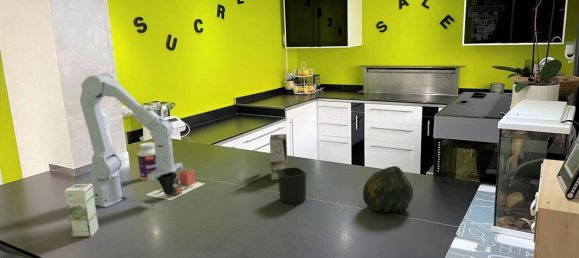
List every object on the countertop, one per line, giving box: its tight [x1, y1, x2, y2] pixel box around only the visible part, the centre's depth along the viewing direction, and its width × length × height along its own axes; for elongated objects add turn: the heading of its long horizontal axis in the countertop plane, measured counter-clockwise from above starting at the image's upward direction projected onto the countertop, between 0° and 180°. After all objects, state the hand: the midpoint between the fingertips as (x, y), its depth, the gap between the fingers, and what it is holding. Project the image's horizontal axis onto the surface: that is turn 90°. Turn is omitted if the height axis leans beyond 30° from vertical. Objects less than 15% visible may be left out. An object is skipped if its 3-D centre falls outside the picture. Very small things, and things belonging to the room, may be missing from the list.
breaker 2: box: [170, 184, 182, 196], centre depth 152 cm, size 3×5×3 cm, turn 61°
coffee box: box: [269, 133, 289, 180], centre depth 169 cm, size 9×6×16 cm
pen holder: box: [277, 167, 307, 205], centre depth 145 cm, size 9×9×10 cm
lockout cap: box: [178, 168, 196, 186], centre depth 162 cm, size 4×4×5 cm
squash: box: [362, 165, 414, 213], centre depth 134 cm, size 14×15×15 cm
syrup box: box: [64, 183, 99, 238], centre depth 125 cm, size 6×6×14 cm
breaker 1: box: [174, 177, 180, 184], centre depth 159 cm, size 3×4×3 cm
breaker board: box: [145, 179, 206, 201], centre depth 157 cm, size 18×12×1 cm, turn 151°
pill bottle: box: [137, 141, 157, 181], centre depth 172 cm, size 8×8×14 cm
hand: (168, 193), depth 149 cm, fingers closed
